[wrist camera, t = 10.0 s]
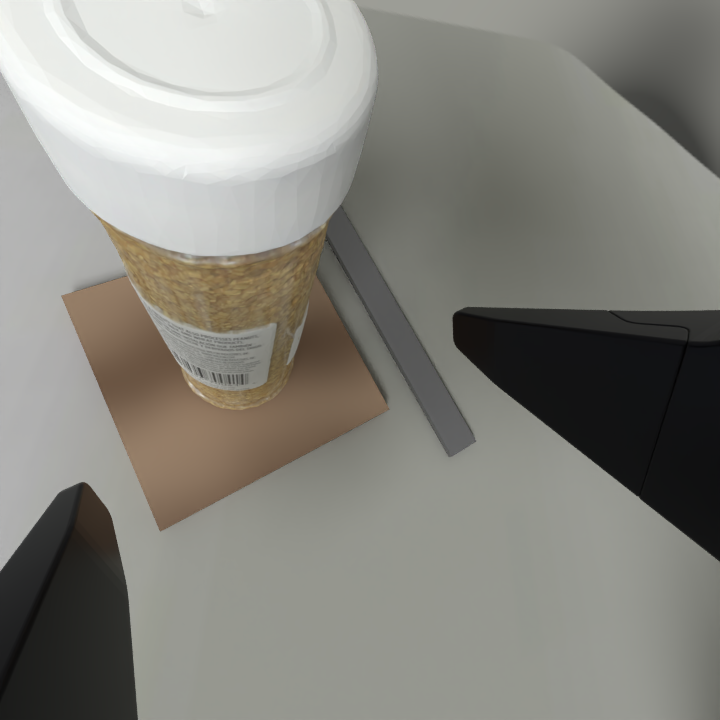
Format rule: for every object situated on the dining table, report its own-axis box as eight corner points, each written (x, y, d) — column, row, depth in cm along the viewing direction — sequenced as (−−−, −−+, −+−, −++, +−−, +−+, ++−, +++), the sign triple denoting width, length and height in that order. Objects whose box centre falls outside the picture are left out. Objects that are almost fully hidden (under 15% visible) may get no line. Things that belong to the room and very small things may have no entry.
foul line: (473, 441, 19) (476, 441, 19) (448, 457, 19) (451, 456, 18) (303, 146, 22) (303, 141, 22) (278, 151, 22) (278, 147, 21)
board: (385, 411, 19) (389, 409, 18) (163, 530, 15) (159, 531, 14) (288, 234, 20) (289, 226, 20) (67, 302, 17) (61, 295, 16)
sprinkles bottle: (313, 352, 18) (448, 38, 6) (245, 435, 16) (224, 241, 4) (230, 290, 18) (185, -165, 6) (153, 366, 16) (-167, -55, 4)
